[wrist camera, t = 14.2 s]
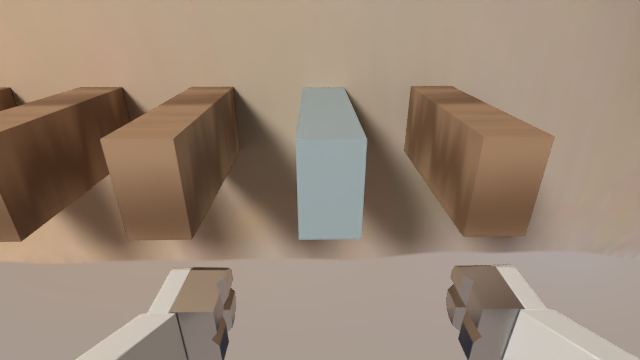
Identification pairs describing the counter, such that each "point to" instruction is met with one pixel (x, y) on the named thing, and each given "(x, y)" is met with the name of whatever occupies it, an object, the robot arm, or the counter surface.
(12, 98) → the domino
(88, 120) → the domino
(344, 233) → the light blue domino
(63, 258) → the counter surface
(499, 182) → the brown wooden block
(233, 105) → the domino
